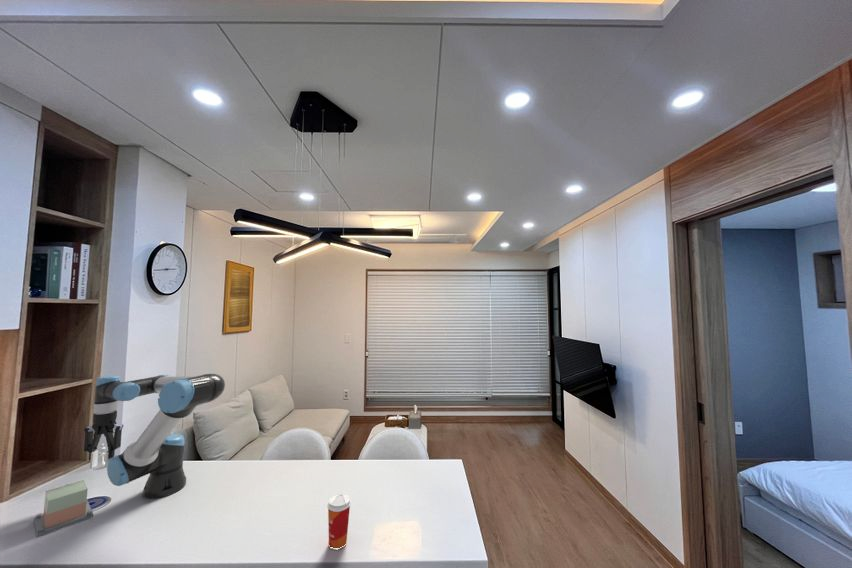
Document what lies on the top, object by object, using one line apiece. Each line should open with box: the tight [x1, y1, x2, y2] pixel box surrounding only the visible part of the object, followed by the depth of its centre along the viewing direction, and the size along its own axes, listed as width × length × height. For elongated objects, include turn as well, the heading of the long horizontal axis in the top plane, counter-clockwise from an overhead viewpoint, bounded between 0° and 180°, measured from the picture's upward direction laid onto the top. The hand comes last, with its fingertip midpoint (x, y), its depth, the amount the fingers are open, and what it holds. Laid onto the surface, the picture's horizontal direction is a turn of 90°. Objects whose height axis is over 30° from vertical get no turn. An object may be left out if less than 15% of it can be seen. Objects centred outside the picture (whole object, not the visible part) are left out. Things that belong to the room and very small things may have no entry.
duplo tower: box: [33, 479, 94, 538], centre depth 123 cm, size 14×14×11 cm
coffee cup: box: [326, 494, 352, 548], centre depth 113 cm, size 8×8×15 cm
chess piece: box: [92, 443, 107, 471], centre depth 139 cm, size 5×5×10 cm
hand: (100, 466), depth 138 cm, fingers closed on chess piece, 5 cm apart
